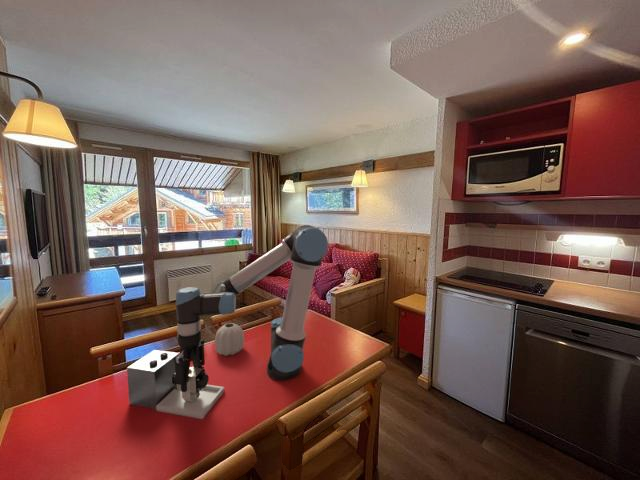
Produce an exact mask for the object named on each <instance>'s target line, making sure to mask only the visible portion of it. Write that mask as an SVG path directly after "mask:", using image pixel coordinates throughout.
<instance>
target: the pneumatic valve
mask: <svg viewBox="0 0 640 480" xmlns="http://www.w3.org/2000/svg"><path fill="white" fill-rule="evenodd" d="M209 379H210V377H209V375H208V374H207V372H206V369H205V368H204V369H201V368H198V367H196V368H195V367H194V366H193V365H192V366H190V369H189V376H188V381H189V384H190V399H189V400H188V399H184V400H185V401H188V402H194V401H195V399H198V398H199V395H200V390H201V389H202V388H205V387H206V385H207V384H208V383H209ZM172 383H173V384H175V390H180V391H181V385H179V384H176V378H175V373H174V374H173V376H172Z"/></svg>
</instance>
